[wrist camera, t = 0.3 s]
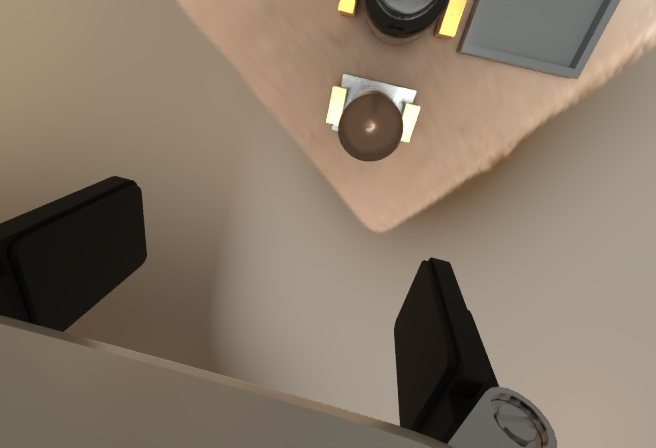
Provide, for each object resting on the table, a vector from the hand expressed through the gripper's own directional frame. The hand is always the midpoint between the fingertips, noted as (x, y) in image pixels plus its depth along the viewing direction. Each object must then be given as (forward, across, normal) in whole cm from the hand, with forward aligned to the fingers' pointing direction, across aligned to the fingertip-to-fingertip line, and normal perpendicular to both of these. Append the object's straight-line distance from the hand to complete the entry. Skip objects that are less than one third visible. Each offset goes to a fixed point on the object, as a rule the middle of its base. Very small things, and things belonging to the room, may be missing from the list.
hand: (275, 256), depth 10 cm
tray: (+29, -15, -15) cm, 36 cm away
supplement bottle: (+30, -2, -12) cm, 32 cm away
